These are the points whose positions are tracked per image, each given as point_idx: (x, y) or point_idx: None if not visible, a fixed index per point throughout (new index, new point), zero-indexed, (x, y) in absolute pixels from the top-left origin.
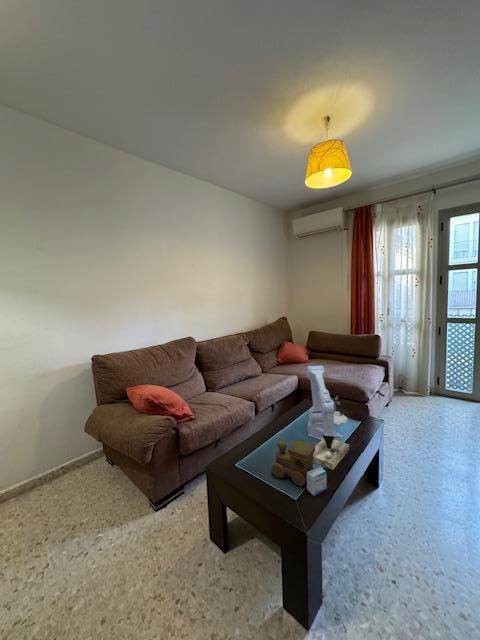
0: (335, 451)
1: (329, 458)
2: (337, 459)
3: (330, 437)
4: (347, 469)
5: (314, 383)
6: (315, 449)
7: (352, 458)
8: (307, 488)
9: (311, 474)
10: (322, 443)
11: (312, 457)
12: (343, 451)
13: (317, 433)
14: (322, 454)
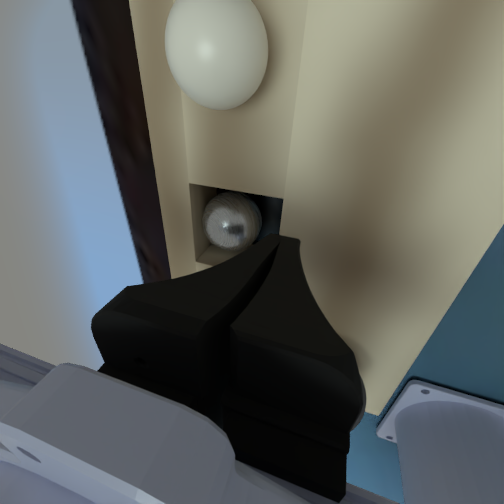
0: (216, 231)
1: None
2: (152, 107)
3: (150, 361)
4: (94, 77)
5: None
6: (482, 156)
7: (146, 244)
8: None
9: None
10: (387, 321)
11: None
12: (169, 262)
13: (471, 449)
14: (336, 78)
